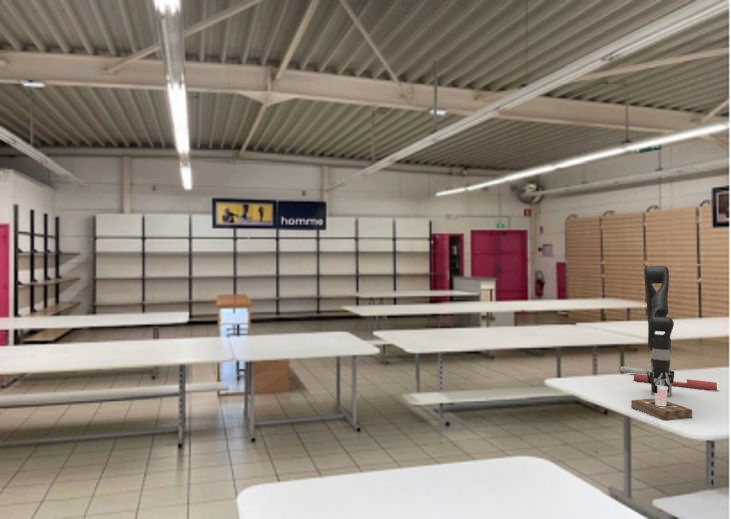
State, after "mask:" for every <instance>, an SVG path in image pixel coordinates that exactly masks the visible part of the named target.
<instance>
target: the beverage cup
mask: <svg viewBox="0 0 731 519" xmlns="http://www.w3.org/2000/svg"><path fill="white" fill-rule="evenodd" d="M667 389H668V387H667V386H663V385H661V380H660V385H657V393H655V395H654V399H655V405H658V406H666V402H667V401H668V400H667V399H668V397H667Z"/></svg>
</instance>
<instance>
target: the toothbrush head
mask: <svg viewBox="0 0 731 519" xmlns="http://www.w3.org/2000/svg"><path fill="white" fill-rule="evenodd" d="M618 370H619V372H620V373H623V374H634V373H635V374H644V375H647V372H648V371H649V372H651V368H649V369H648V368H647V369H646V368H645V369H644V368H639V367H631V366H625V365H624V366H623V365H622V366H619V369H618Z"/></svg>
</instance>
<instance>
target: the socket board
mask: <svg viewBox="0 0 731 519" xmlns="http://www.w3.org/2000/svg"><path fill="white" fill-rule="evenodd" d="M630 402H631V404H630V405H631V406H630V407H631V409H632V408H633V410H635V409H636V410H635V411H637V410H639V411H638V412H640V411H642V412H641V413H643V412H644V413H643V414H645V413H646V415H648V414H649V415H648V416H651V417H653V416H654V418H656V419H659V420H662V421H672V420H685V418H686V419H692V418H693V409H692V408H689V407H686V406H683V405H680V404H676V403H673V402H670V401H668V400H667V402H666V406H658V405H655V398H643V399H633V400H632V399H631V400H630Z"/></svg>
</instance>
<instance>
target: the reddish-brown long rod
mask: <svg viewBox="0 0 731 519" xmlns="http://www.w3.org/2000/svg"><path fill="white" fill-rule="evenodd" d="M634 381H637V382H636V383H642V382H644V384H649V383H648V376H647V375H645V374H637V373H633V382H634ZM676 386H677V387H678V388H685V387H686V389H687V388H688V389H693V388H694V390H695V389H696V390H702V389H704V390H705V391H710V390H718V383H717V382H714V381H707V380H697V379H688V378H686V382H684V381H683V382H681V381H673V383H672V387H676Z"/></svg>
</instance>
